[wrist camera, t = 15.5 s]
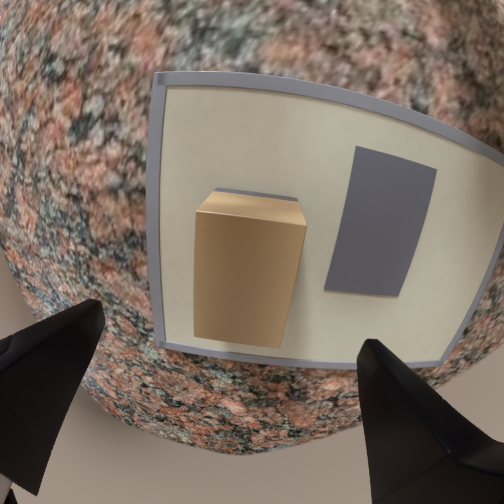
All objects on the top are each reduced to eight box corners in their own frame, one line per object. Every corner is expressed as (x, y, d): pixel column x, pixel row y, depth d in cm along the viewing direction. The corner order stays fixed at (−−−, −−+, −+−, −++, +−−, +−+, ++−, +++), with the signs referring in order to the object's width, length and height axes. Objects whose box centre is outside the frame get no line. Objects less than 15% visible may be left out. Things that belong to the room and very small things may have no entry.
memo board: (515, 164, 11) (523, 166, 11) (438, 359, 19) (441, 366, 18) (160, 74, 12) (153, 72, 11) (160, 338, 19) (156, 346, 18)
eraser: (297, 197, 13) (308, 224, 10) (278, 300, 16) (279, 348, 12) (216, 187, 13) (195, 210, 10) (209, 291, 16) (193, 337, 12)
